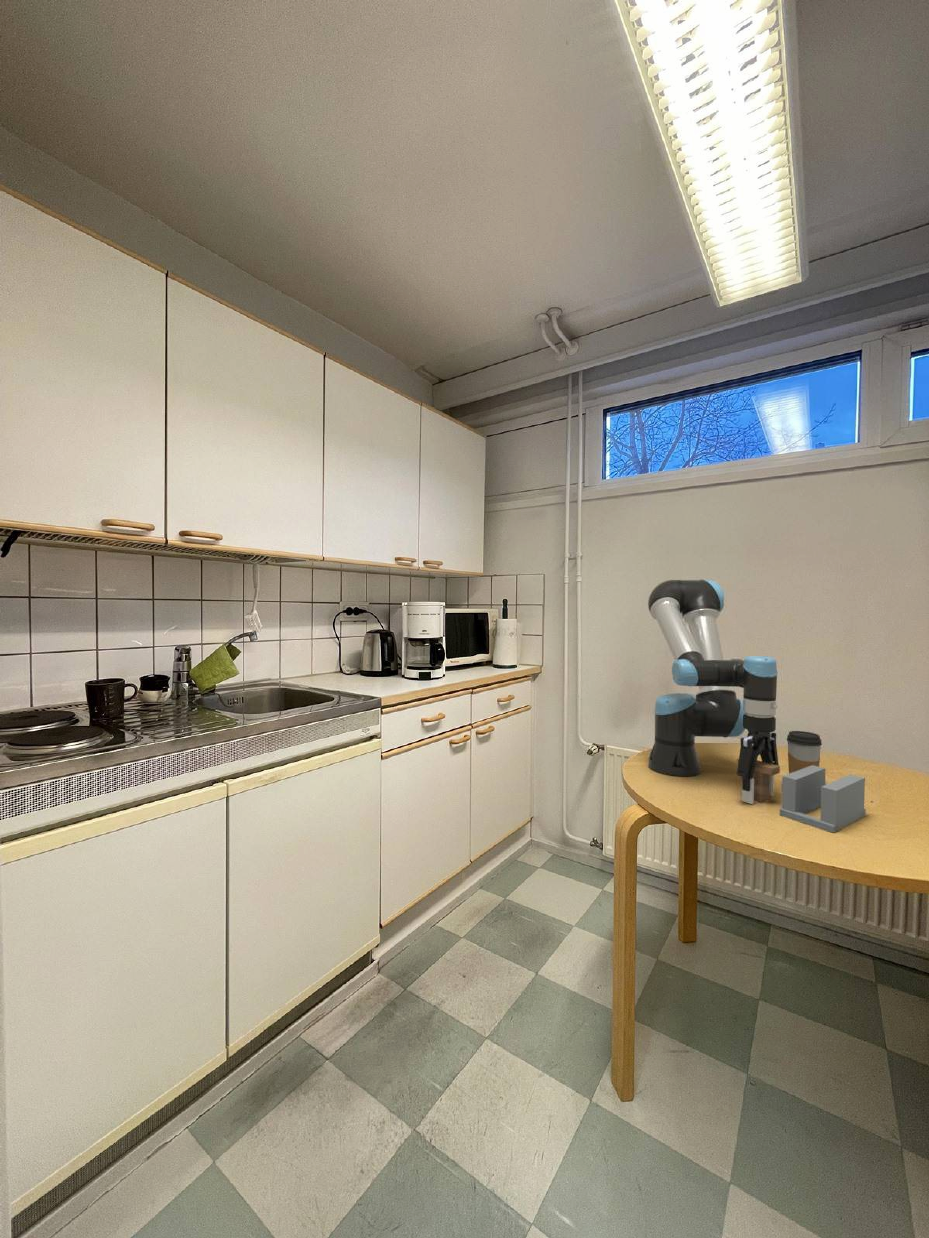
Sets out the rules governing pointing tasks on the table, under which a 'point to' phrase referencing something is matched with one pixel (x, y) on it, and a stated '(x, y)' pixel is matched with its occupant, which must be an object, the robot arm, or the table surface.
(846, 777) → the slot stand
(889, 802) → the table surface
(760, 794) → the wooden t-shaped block
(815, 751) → the coffee cup
